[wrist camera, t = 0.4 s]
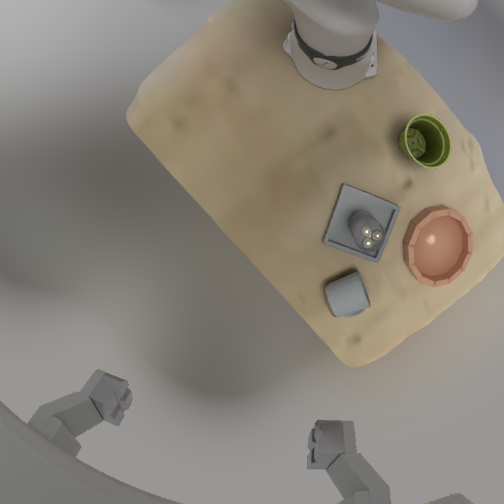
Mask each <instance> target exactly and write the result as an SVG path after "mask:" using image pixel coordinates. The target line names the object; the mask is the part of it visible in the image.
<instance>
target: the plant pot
mask: <svg viewBox="0 0 504 504" xmlns="http://www.w3.org/2000/svg"><path fill="white" fill-rule="evenodd" d="M407 131H411V132H408V133H407ZM420 138H422V139H423V144H422V141H421V139H420ZM412 142H414V144H412ZM399 146H400V149H401V150H402V152H403V153H404V154H405V155H406V156H407V157H409V158H412V159H414V161H415V162H417V163H418V164H419V165H421V166H423V167H425V168H428V169H436V168H439V167H441V166H443V165H444V164H445V163H446V162H447V161H448V159H449V157H450V154H451V150H452V143H451V138H450V135H449V132H448V130H447V128H446V127H445V125H444V124H443V123H442V122H441V121H440V120H439V119H438V118H436V117H434V116H432V115H429V114H419V115H416V116H414V117H413V118H412V119H411V120H410V121H409V122H408V124H407V126H406V129H404V130H403V131H402V132H401V134H400V137H399ZM417 153H419V155H416V156H414V155H413V154H417Z"/></svg>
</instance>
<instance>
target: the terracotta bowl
mask: <svg viewBox="0 0 504 504" xmlns="http://www.w3.org/2000/svg"><path fill="white" fill-rule="evenodd" d="M472 241H473V234H472V231H471V229H470V227H469V225H468V223H467V221H466V219H465V217H463V216H462V215H460V214H458V213H456V212H454V211H453V210H451V209H449V208H447V207H444V206H437V207H431V208H426V209H424V210H423V211H422V212H421V213H420V214H419V215H417V216H416V217H415V218H414V219H413V220H412V221H411V222H410V225H409V227H408V230H407V232H406V235H405V237H404V240H403V247H404V260H405V262H406V263H407V265H408V266H409V268H410V269H411V271H412V273H413V274H414V276H415V277H416V278H417V280H418V281H419V282H422V283H424V284H427V285H429V286H432V287H437V286H441V285H445V284H449V283H451V282H452V281H453V280H455V279H456V278H457V277H458V276H459V275H460V274H461V273H462V272H463V271H464V270H465V268H466V266H467V264H468V261H469V259H470V257H471V255H472Z"/></svg>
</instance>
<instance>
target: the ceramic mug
mask: <svg viewBox="0 0 504 504" xmlns="http://www.w3.org/2000/svg"><path fill="white" fill-rule="evenodd" d="M323 292H324V298H325V302H326V305H327V307H328V309H329V311H330V313H331V314H332V316H334V317H341V316H345V317H352V316H356V315H359V314H361V313H362V312H363V311H364V310H365V308H368V307H370V305H371V304H370V300H369V297H368V294H367V291H366V288H365V285H364V282H363V280H362V277H361V275H360V273H359V272H358V271H356V272H354V273H352V274H350V275H347V276H345V277H343V278H341V279H339V280H336V281H334V282H332V283H329V284H328V285H327V286H325V287H324V291H323Z"/></svg>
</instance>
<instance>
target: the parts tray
mask: <svg viewBox="0 0 504 504" xmlns="http://www.w3.org/2000/svg"><path fill="white" fill-rule="evenodd" d="M400 208H401V207H399V206H398V205H395V204H393V203H391V202H388V201H386V200H383V199H381V198H379V197H376V196H374V195H371V194H369V193H366V192H364V191H361V190H359V189H356V188H354V187H351V186H348V185H346V184H342V187H341V190H340V193H339V196H338V199H337V202H336V205H335V208H334V211H333V214H332V216H331V219H330V222H329V225H328V227H327V230H326V233H325V236H324V238H323V244H326V245H329V246H331V247H334V248H337V249H340V250H343V251H345V252H348V253H351V254H354V255H356V256H359V257H362V258H365V259H367V260H370V261H373V262H375V263H378V262H379V260H380V257H381V255H382V253H383V250H384V248H385V246H386V243H387V241H388V239H389V236H390V234H391V231H392V229H393V226H394V224H395V221H396V218H397V216H398V213H399V210H400ZM357 210H365V211H368V212H369V213H370V214H371V215H372V216H373V217H374V218H375V219H376V220H377V221H378V222H379V223H380V224H381V225H382V226H383V228H384V230H385V241H384V243H383V245H382V246H381V247H380V248H379V249H378V250H376V251H374V252H365V251H362V250H361V249H360V248H358V246H357V245H356V243H355V241H354V239H353V236H352V234H351V232H350V230H349V227H348V220H349V217H350V216H351V214H352V213H354V212H355V211H357Z"/></svg>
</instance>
